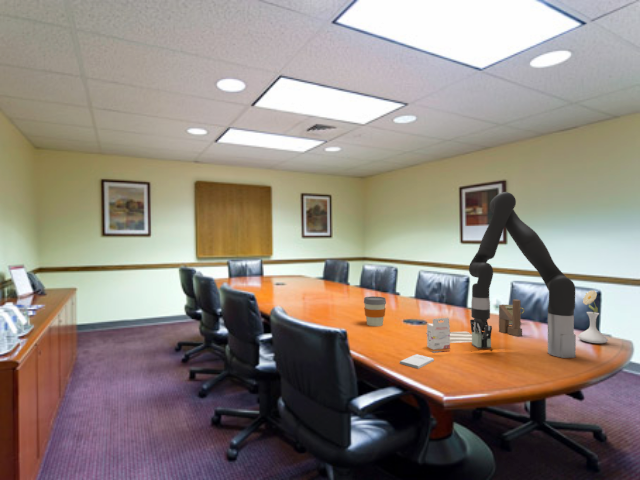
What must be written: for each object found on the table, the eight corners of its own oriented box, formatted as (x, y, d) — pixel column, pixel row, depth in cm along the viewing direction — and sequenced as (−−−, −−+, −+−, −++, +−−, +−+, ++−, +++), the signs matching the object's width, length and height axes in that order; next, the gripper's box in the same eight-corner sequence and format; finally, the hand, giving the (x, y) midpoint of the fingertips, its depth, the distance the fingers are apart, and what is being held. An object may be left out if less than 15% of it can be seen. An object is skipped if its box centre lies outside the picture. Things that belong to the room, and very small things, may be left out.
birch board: (486, 344, 170) (486, 341, 170) (441, 346, 167) (441, 343, 167) (466, 334, 187) (466, 331, 187) (425, 335, 185) (425, 332, 185)
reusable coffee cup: (360, 322, 214) (360, 297, 214) (379, 321, 218) (379, 295, 218) (369, 327, 202) (369, 300, 202) (389, 326, 206) (389, 299, 206)
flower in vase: (577, 337, 182) (577, 287, 182) (605, 340, 176) (606, 288, 176) (579, 344, 171) (579, 290, 170) (610, 347, 165) (610, 292, 165)
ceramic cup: (501, 324, 208) (501, 307, 208) (497, 321, 218) (497, 304, 218) (527, 326, 205) (527, 308, 205) (521, 322, 215) (521, 305, 215)
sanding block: (491, 348, 160) (490, 334, 160) (477, 349, 159) (477, 335, 159) (484, 345, 165) (484, 331, 165) (471, 345, 164) (471, 332, 164)
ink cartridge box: (443, 348, 164) (443, 315, 164) (450, 351, 160) (450, 317, 159) (426, 349, 162) (426, 316, 162) (432, 353, 157) (432, 319, 157)
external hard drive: (399, 365, 144) (415, 357, 153) (418, 370, 139) (434, 362, 148) (399, 360, 144) (415, 353, 153) (418, 365, 139) (434, 358, 148)
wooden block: (503, 331, 195) (503, 297, 194) (522, 335, 185) (522, 300, 185) (498, 331, 193) (498, 297, 193) (517, 336, 183) (517, 300, 183)
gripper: (498, 310, 155) (498, 350, 155) (479, 304, 169) (479, 341, 169) (481, 310, 154) (481, 351, 154) (464, 304, 168) (464, 341, 169)
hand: (480, 345), depth 162 cm, fingers closed on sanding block, 5 cm apart
